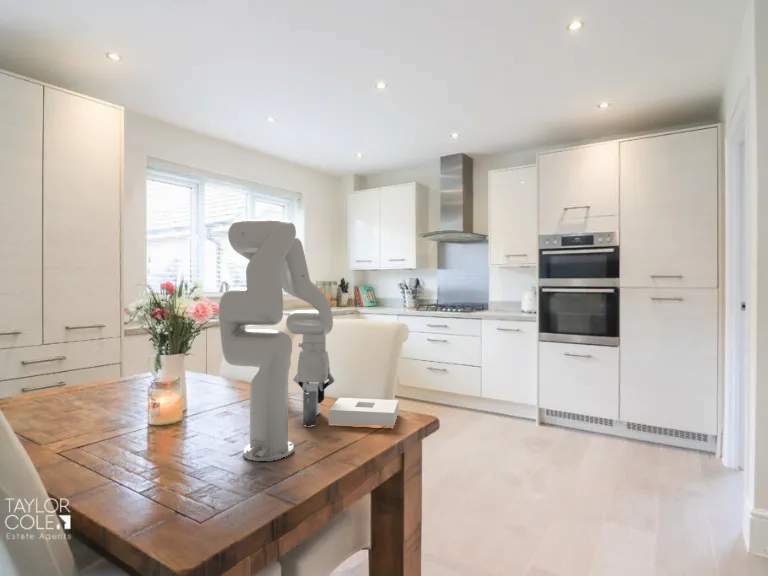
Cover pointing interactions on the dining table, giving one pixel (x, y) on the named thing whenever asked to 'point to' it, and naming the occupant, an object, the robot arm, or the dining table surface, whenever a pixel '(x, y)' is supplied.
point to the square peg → (315, 387)
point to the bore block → (364, 412)
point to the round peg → (309, 408)
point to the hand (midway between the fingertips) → (313, 401)
